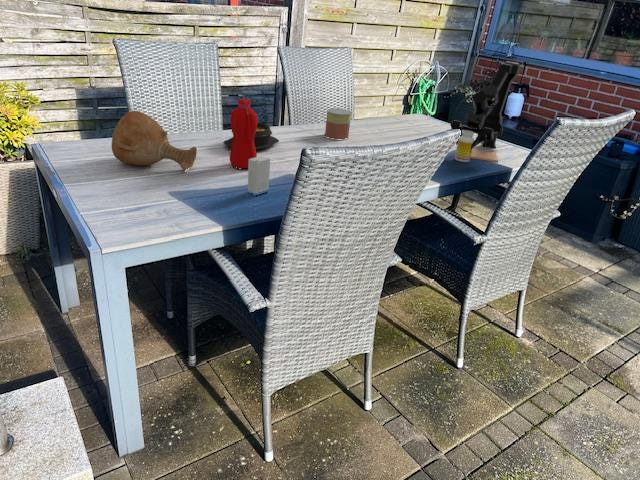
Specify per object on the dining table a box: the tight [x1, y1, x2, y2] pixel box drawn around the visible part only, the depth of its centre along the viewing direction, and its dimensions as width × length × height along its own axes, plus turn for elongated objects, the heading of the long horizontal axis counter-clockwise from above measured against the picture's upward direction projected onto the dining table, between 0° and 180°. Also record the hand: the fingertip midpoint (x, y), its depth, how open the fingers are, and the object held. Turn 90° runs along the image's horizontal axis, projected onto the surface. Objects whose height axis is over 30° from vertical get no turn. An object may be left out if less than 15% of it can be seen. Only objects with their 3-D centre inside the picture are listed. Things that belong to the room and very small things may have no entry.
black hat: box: [223, 122, 280, 150], centre depth 211 cm, size 25×19×8 cm
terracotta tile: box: [470, 148, 499, 163], centre depth 228 cm, size 12×12×1 cm
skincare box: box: [247, 155, 271, 193], centre depth 165 cm, size 6×4×12 cm
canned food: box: [324, 107, 352, 139], centre depth 233 cm, size 11×11×12 cm
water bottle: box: [229, 98, 259, 168], centre depth 183 cm, size 9×11×25 cm
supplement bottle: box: [454, 130, 475, 163], centre depth 217 cm, size 7×7×13 cm
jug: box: [111, 110, 198, 173], centre depth 178 cm, size 20×19×30 cm
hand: (463, 146), depth 216 cm, fingers closed on supplement bottle, 7 cm apart
